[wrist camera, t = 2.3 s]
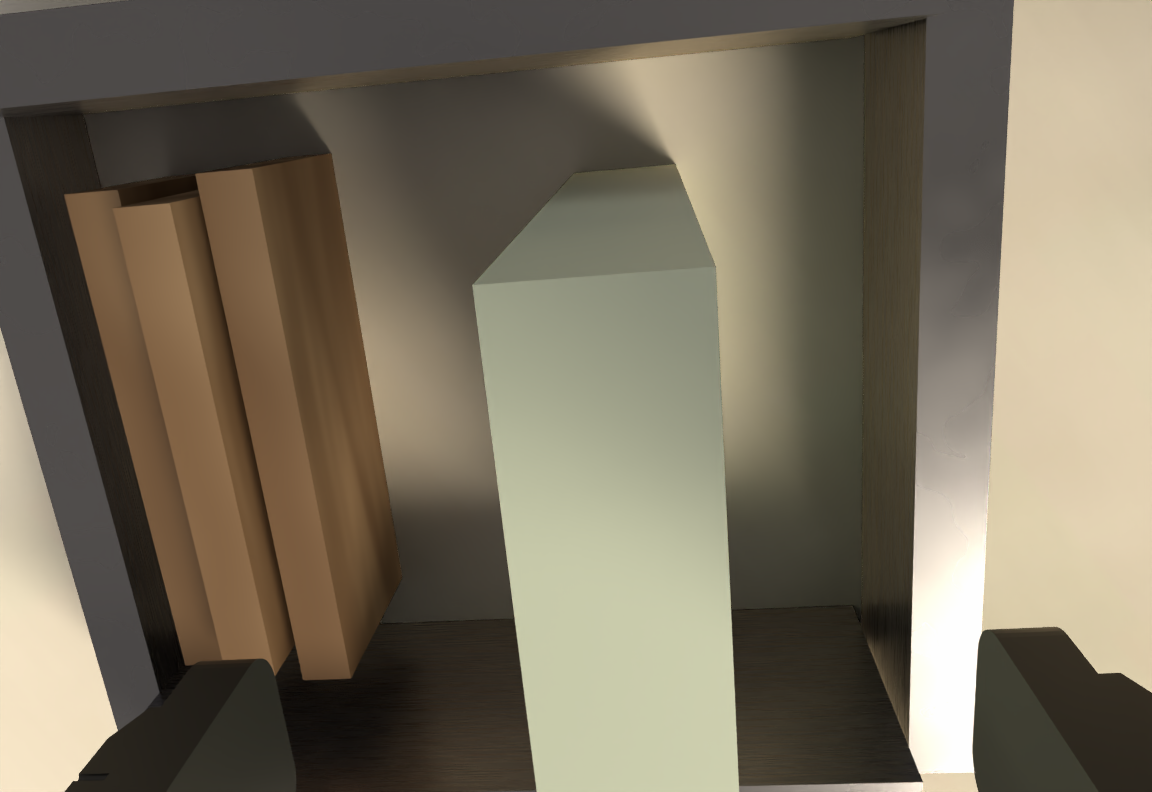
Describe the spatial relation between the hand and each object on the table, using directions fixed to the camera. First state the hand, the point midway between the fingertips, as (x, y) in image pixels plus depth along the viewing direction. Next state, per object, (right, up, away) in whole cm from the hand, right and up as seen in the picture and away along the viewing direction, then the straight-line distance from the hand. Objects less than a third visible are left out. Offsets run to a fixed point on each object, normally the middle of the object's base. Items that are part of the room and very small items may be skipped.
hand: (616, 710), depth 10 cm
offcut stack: (-8, +4, +15) cm, 17 cm away
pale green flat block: (+1, +4, +14) cm, 15 cm away
